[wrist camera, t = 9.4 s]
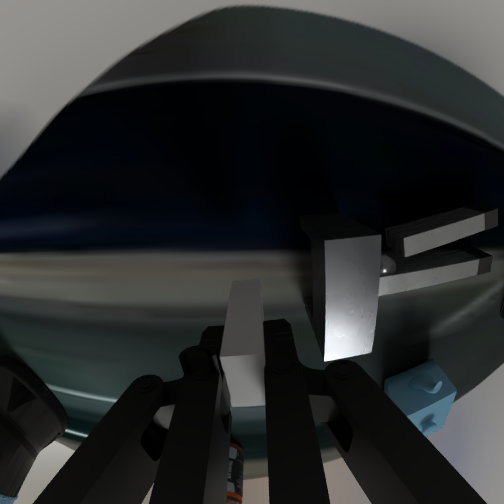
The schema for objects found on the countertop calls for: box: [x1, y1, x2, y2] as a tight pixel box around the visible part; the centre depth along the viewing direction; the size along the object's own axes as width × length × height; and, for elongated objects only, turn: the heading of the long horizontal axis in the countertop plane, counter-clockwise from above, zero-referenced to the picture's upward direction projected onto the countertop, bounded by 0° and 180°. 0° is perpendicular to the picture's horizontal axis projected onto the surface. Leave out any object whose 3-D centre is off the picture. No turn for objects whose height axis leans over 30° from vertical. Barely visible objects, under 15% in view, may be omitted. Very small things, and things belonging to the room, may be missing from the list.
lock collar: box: [300, 213, 381, 361], centre depth 17 cm, size 3×7×7 cm, turn 6°
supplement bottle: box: [226, 442, 244, 504], centre depth 22 cm, size 6×6×11 cm
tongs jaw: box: [385, 203, 498, 257], centre depth 18 cm, size 11×2×3 cm, turn 105°
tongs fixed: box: [378, 246, 493, 296], centre depth 18 cm, size 15×3×3 cm, turn 96°
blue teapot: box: [384, 359, 457, 437], centre depth 21 cm, size 12×6×8 cm, turn 15°
